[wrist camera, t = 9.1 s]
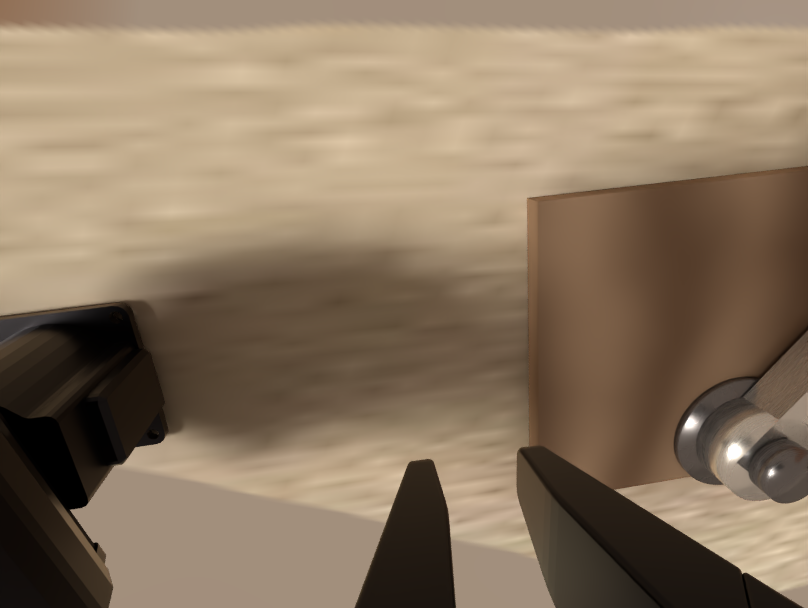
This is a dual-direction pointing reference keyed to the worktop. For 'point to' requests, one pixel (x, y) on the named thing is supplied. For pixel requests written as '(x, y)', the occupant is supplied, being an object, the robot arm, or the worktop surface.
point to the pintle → (769, 469)
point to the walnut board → (657, 310)
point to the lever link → (757, 422)
